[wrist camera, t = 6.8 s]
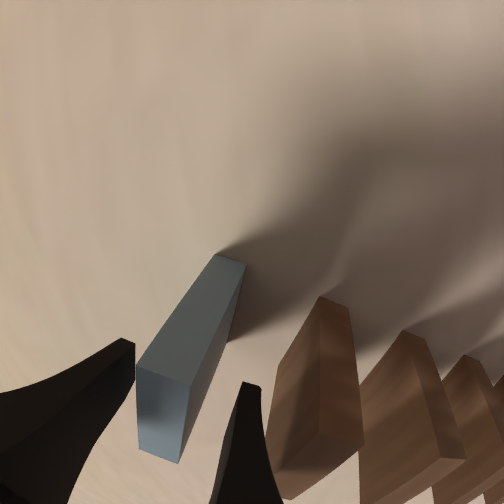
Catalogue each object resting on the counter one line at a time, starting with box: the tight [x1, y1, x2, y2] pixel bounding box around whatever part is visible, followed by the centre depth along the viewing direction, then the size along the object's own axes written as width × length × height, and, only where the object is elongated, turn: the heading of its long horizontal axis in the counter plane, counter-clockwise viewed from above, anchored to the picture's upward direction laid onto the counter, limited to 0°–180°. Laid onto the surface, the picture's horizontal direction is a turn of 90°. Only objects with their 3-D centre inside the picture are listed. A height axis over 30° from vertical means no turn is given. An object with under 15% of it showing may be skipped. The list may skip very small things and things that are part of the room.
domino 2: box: [265, 296, 365, 500], centre depth 12 cm, size 2×5×8 cm, turn 159°
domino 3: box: [358, 330, 467, 504], centre depth 12 cm, size 2×5×8 cm, turn 159°
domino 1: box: [136, 254, 247, 464], centre depth 12 cm, size 2×5×8 cm, turn 166°
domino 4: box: [432, 355, 504, 504], centre depth 12 cm, size 2×5×8 cm, turn 159°
